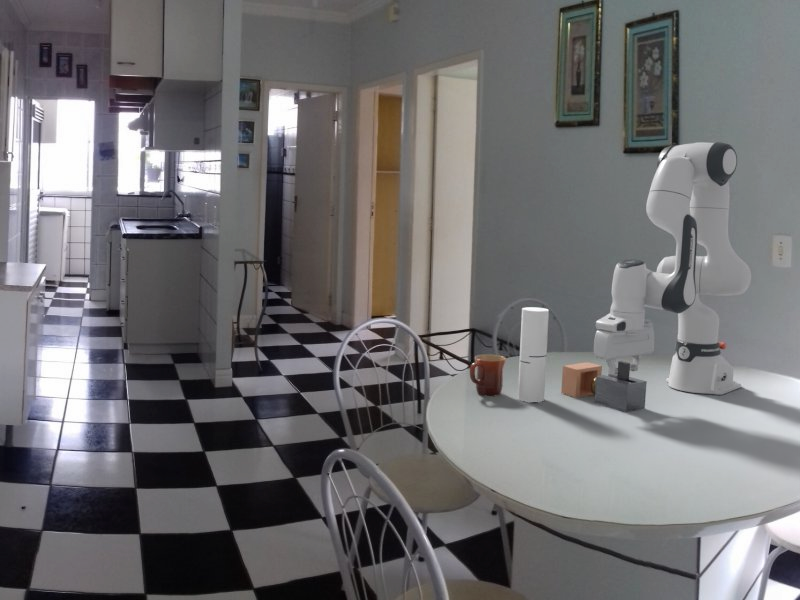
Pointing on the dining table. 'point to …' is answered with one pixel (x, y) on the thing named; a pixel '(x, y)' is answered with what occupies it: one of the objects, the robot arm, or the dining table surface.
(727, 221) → the robot arm
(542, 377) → the cylindrical container
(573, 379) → the peach pocketed block
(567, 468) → the dining table surface
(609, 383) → the sleeve
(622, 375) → the tube
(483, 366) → the mug
